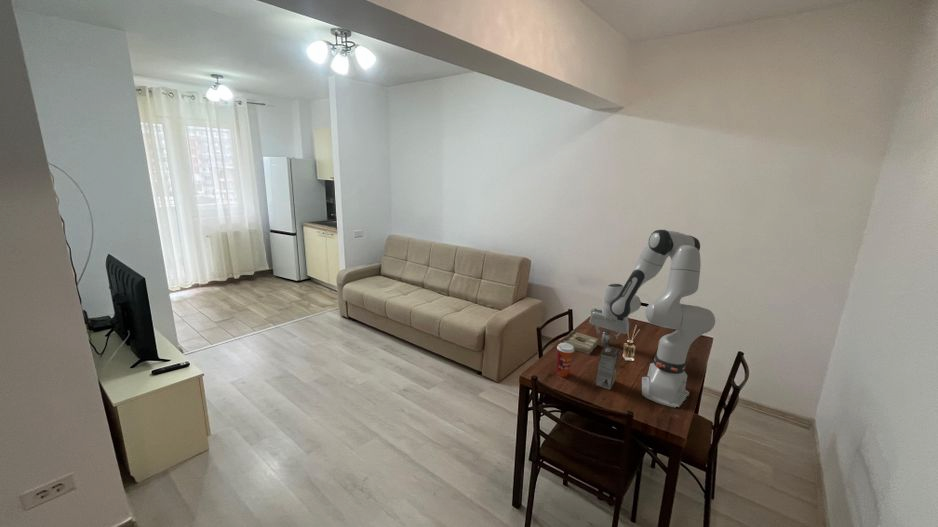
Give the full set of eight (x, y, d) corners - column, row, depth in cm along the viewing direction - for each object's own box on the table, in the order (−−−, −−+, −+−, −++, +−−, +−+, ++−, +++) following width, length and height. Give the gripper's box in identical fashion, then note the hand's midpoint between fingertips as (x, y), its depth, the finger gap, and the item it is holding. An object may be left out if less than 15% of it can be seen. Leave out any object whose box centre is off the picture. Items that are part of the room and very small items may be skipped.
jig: (589, 354, 190) (590, 346, 189) (563, 346, 198) (564, 338, 197) (597, 344, 201) (598, 337, 200) (572, 337, 209) (573, 329, 208)
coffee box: (600, 376, 170) (605, 344, 166) (615, 380, 167) (620, 348, 163) (595, 385, 163) (600, 352, 159) (610, 390, 160) (616, 356, 156)
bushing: (607, 346, 200) (609, 334, 199) (600, 344, 203) (601, 332, 201) (609, 343, 204) (611, 332, 202) (602, 341, 206) (603, 329, 204)
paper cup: (559, 379, 166) (562, 350, 163) (550, 370, 173) (554, 342, 170) (574, 377, 168) (578, 349, 165) (565, 368, 175) (569, 341, 172)
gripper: (589, 309, 202) (586, 332, 206) (628, 319, 191) (624, 343, 195) (593, 306, 207) (589, 328, 211) (631, 315, 196) (627, 339, 199)
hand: (606, 336), depth 203 cm, fingers open, 8 cm apart
